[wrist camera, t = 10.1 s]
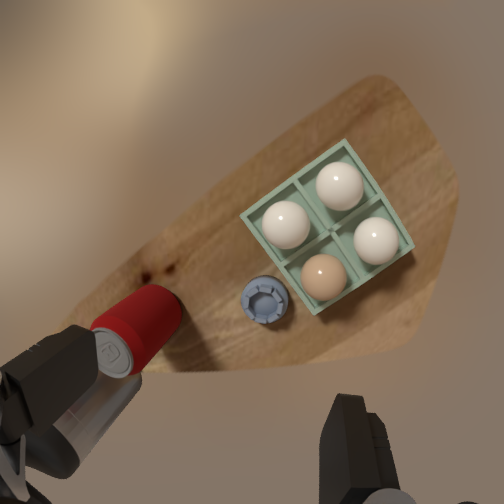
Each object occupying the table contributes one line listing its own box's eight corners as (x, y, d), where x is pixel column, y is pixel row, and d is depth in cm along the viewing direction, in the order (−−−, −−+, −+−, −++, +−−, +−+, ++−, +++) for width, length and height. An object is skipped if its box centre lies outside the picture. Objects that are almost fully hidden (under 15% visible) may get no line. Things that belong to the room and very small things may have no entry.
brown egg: (316, 298, 31) (317, 317, 27) (292, 265, 31) (289, 279, 27) (352, 275, 30) (358, 290, 26) (328, 240, 30) (331, 250, 26)
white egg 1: (282, 252, 31) (278, 264, 27) (255, 216, 31) (247, 222, 26) (318, 227, 30) (321, 234, 26) (292, 190, 29) (289, 191, 25)
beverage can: (127, 300, 38) (70, 340, 26) (159, 271, 36) (102, 309, 24) (159, 340, 38) (113, 392, 27) (195, 315, 36) (152, 369, 25)
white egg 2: (332, 217, 29) (336, 223, 25) (305, 180, 29) (305, 180, 25) (368, 191, 28) (378, 193, 24) (341, 154, 28) (347, 149, 24)
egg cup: (261, 324, 35) (258, 335, 33) (234, 291, 35) (229, 299, 32) (297, 302, 34) (296, 311, 31) (270, 266, 34) (268, 273, 31)
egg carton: (313, 305, 34) (313, 315, 31) (244, 212, 33) (239, 215, 30) (406, 240, 30) (415, 246, 28) (341, 142, 29) (344, 138, 27)
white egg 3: (364, 266, 30) (373, 280, 26) (341, 231, 30) (347, 239, 25) (399, 242, 29) (413, 251, 24) (377, 205, 28) (388, 209, 24)
